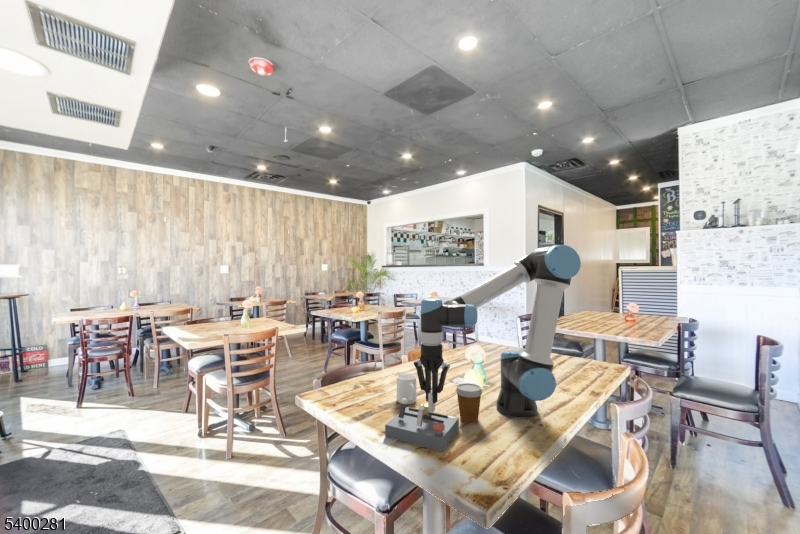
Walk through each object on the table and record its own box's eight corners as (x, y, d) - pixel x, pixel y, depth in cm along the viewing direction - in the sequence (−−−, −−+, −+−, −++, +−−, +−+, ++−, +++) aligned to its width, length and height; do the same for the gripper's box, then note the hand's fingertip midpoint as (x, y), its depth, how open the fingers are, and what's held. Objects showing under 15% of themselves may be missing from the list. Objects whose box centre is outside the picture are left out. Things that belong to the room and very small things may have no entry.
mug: (423, 406, 135) (423, 381, 135) (404, 409, 132) (404, 383, 132) (411, 396, 146) (411, 372, 146) (394, 398, 143) (393, 374, 143)
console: (458, 429, 115) (458, 416, 115) (442, 452, 101) (442, 436, 101) (407, 417, 124) (407, 405, 124) (385, 436, 110) (385, 422, 110)
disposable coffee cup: (477, 428, 116) (477, 393, 116) (451, 421, 121) (451, 388, 121) (485, 418, 124) (485, 385, 124) (461, 412, 129) (461, 381, 129)
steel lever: (423, 427, 108) (426, 405, 110) (420, 426, 106) (424, 405, 109) (417, 425, 109) (420, 404, 111) (414, 425, 107) (418, 403, 110)
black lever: (404, 419, 114) (409, 399, 117) (402, 418, 112) (406, 398, 115) (399, 417, 115) (403, 398, 118) (396, 416, 113) (401, 396, 116)
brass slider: (431, 414, 118) (431, 404, 118) (428, 417, 115) (428, 407, 115) (426, 412, 119) (426, 403, 119) (422, 416, 116) (422, 406, 116)
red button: (446, 432, 105) (446, 424, 105) (442, 437, 102) (442, 429, 102) (435, 430, 106) (435, 421, 106) (431, 434, 103) (431, 426, 103)
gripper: (452, 343, 116) (453, 410, 116) (419, 339, 122) (419, 404, 122) (445, 347, 110) (445, 419, 109) (409, 343, 116) (410, 411, 116)
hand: (431, 411), depth 116 cm, fingers closed
